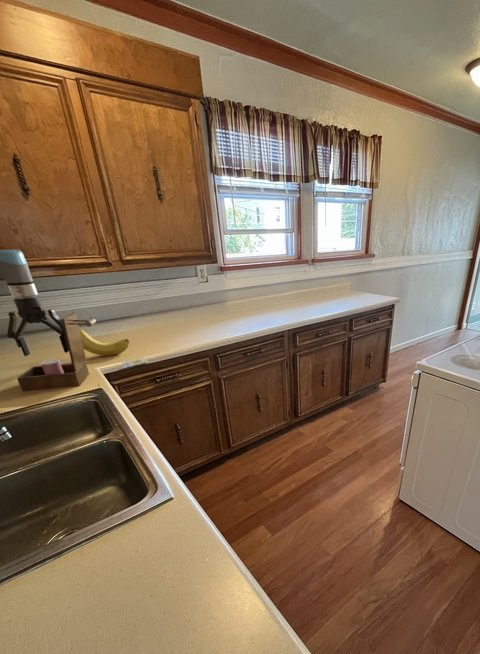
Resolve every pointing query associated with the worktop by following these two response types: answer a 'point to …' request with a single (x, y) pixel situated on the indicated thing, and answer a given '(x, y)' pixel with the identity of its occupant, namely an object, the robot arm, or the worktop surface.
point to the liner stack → (52, 366)
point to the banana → (103, 345)
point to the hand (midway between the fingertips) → (47, 353)
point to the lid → (75, 338)
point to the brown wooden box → (52, 378)
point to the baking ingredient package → (134, 362)
